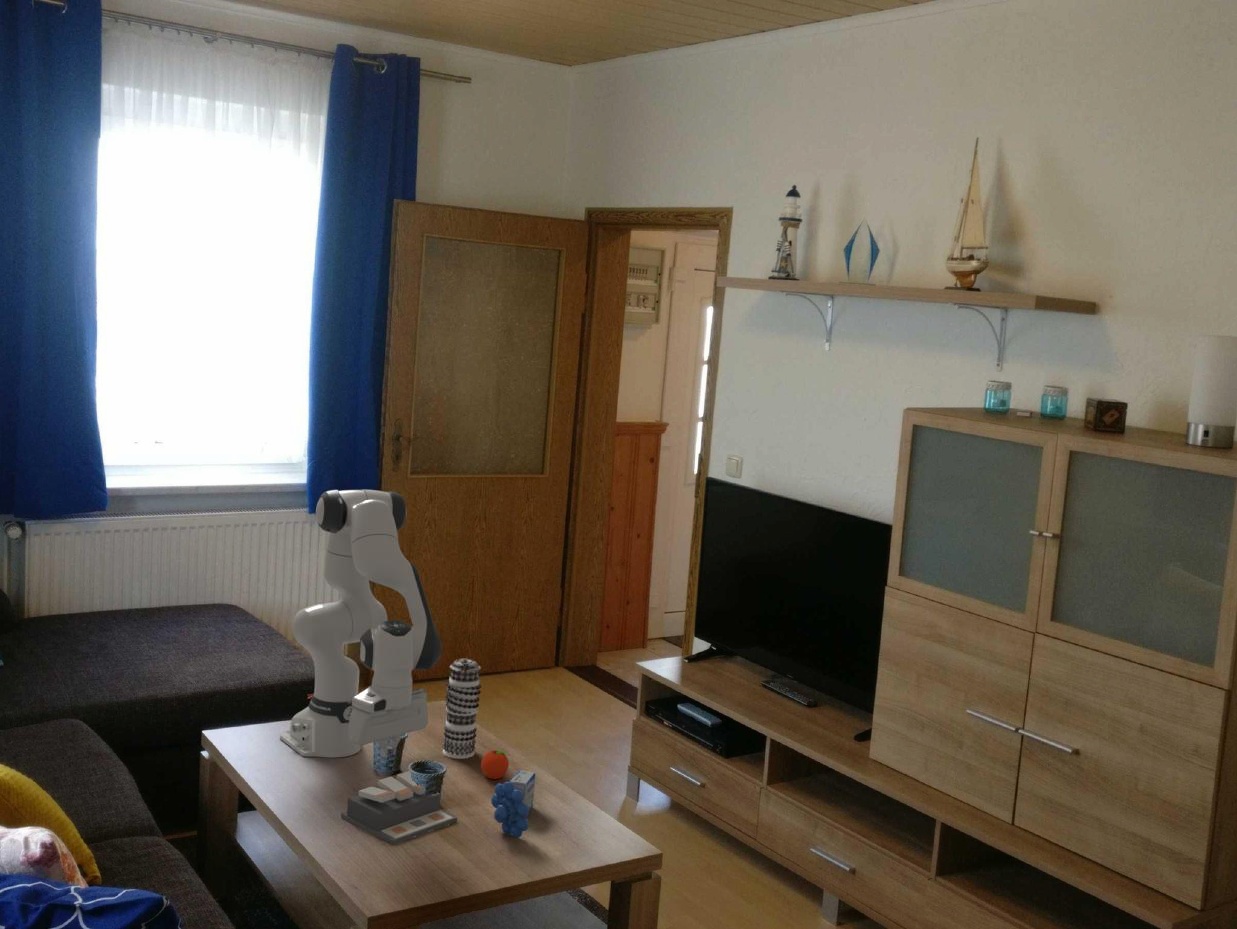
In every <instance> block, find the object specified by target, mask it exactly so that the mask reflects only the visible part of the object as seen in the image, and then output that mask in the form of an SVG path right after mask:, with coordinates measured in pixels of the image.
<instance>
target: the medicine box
mask: <svg viewBox="0 0 1237 929" xmlns="http://www.w3.org/2000/svg"><path fill="white" fill-rule="evenodd" d="M509 782H511V783H512V784H513V786H514V789H518V790H520V791H521V792H522V793H523V801H522V802H521V803H524V804H526V805H527V806H528V808H529V812H530V811H531V810H532V808H533V806H534V798H535V797H534V796H535V787H536V786H535V784H536V772H534V771H529V770H521V769H520V770H518V771H517V772H516V773H515V774H514V775H513V777H512V778H511V779H510V780H509Z"/></svg>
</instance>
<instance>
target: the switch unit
mask: <svg viewBox="0 0 1237 929" xmlns="http://www.w3.org/2000/svg"><path fill="white" fill-rule="evenodd" d="M400 783H401V782H400ZM403 785H404V784H403ZM406 787H407V786H406ZM407 788H408V787H407ZM379 789H382V790H384V789H383V788H381V787H379ZM409 789H410V788H409ZM413 792H414V791H413ZM436 792H437V793H436V794H432V795H421V794H419V795H418V794H417V793H415V792H414V793H413V797H410V798H407V799H404V800H401V801H400V800H398V799H397V798H394V799H391V800H388V801H385V802H382V803H381V802H378V801H375V800H371V799H368V798H364V797H361V796H359V794H357V795H353V796H351V797H348V798H347V811H344V812H342V813H340V818H341V819H343V820H344V821H346V822H348V823H349V824H352V825H353V826H356V827H358V828H360V829H361V830H363V831H365V830H366V831H365V832H367V833H369V834H371V835H373V836H375V837H376V838H379V839H381V840H382V839H383V840H382V841H384V842H387V843H388V842H389V843H388V844H390V845H392V846H394V845H397V844H400V843H402V842H401V841H403V842H405V841H407V839H408V840H411V839H413V838H412V837H414V836H416V837H419V836H421V835H420V834H422V833H425V834H427V833H429V832H428V831H430V830H433V829H436V828H438V829H440V828H439V827H441V828H443V827H442V826H444V827H446V826H445V825H447V826H449V825H452V824H454V823H457V822H458V817H457V816H455V815H453V814H451V813H449V812H447V811H445V810H442V809H440V808H441V796H442V793H440V792H438V791H436ZM451 823H452V824H451ZM448 824H449V825H448ZM436 830H437V829H436ZM433 831H434V830H433ZM426 832H427V833H426ZM430 832H431V831H430ZM418 835H419V836H418ZM422 835H423V834H422ZM410 838H411V839H410ZM414 838H415V837H414ZM399 842H400V843H399Z"/></svg>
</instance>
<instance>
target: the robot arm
mask: <svg viewBox="0 0 1237 929" xmlns="http://www.w3.org/2000/svg"><path fill="white" fill-rule="evenodd" d="M407 514H408V509H407V504H406V500H405V498H404V497H403V496H402V494H400V493H398V492H394V491H390V490H389V491H384V490H383V491H382V490H376V489H375V490H374V489H364V488H363V489H346V490H345V489H343V490H339V489H331V490H327V491H324V492H323V493H322V494H321V495H319V498H318V501H317V504H316V508H315V515H316V521H317V524H318V526H319V527H320V528H321V530H322V531H324V532H327V533H328V536H327V544H326V550H325V551H326V552H325V558H324V559H325V561H324V570H323V576H324V579H325V581H326V583H327V584H328V585H329V586H330V587H332V588H333V589H335V590H337V591H338V593H339V599H338V601H334V602H326V603H317V604H313V605H310V606H307V607H304V608H302V609H300V610H298V611H297V612H296V614H295V616H294V618H293V621H292V633H293V637H294V639H295V641H296V642H297V643H298V644H299V645H301V646H302V647H303V648H305V650H307V652H308V653H309V655H310V657H311V659H312V662H313V666H314V693H309V694H307V699H308V700H309V699H310V701H309V704H308V706H307V707H305V708H304V709H303V710H301V711H299V712H297V713H296V714H294V716H293V717H292V718H291V721H290V728H289V729H288V730H286V731H284V732H282V733H281V734H280V735H279V739H280V740H281V741H283V743H286V744H287V745H288V746H289V747H290V748H291V749H292V750H294V751H295V752H297V753H298V755H300V756H302V757H319V758H321V757H322V758H331V759H333V758H343V757H349V756H353V755H354V754H357V753H359V752H360V751H361V748H362V747H361V746H365V745H368V744H373V743H377V744H378V747H379V748H380V750H379V751H380V752H379V755H380V756H381V757H382V758H387V757H391V756H394V755H396V751H397V750H396V749H397V746H398V745H399V743H400V741H401V736H402V735H404V734H408V733H412V732H416V731H420V730H423V729H425V728H426V727H427V725H428V723H429V708H428V701H427V699H428V693H427V692H426V690H425V689H423V688H421V687H420V688H419V687H418V688H416V689H413V676H412V670H414V671H416V670H417V671H429V670H430V669H432V668H433V667H434V666H435V665H436V664H437V663H438V662H439V661H440V660H441V658H442V653H443V652H442V648H443V646H442V641H441V637H440V635H439V632H438V629H437V627H436V624H435V622H434V620H433V616H432V612H431V609H430V607H429V603H428V600H427V597H426V593H425V590H424V586H423V584H422V580H421V577H420V574H419V572H418V570H417V567H416V566H415V564H414V563H412V562H411V561H409V560H407V558H406V557H405V556H404V554H403V552H402V550H401V547H400V544H399V536H398V532H400V530H401V529H403V528H404V526H405V523H406V520H407ZM370 582H372V583H375V584H379V585H382V586H385V587H388V588H391V589H392V590H394V591H396V592H398V593H399V594H400V595H401V596H402V597H403V598H404V599H405V602H406V606H407V610H408V613H409V617H410V619H411V620H410V621H411V623H412V626H411V625H410V623H408V622H406V621H403V620H397V619H390V620H389V619H388V614H387V611H386V608H385V606H384V604H382V603H381V602H380V601H378V599H377V598H376V597H375V596H374V594H373V592H372V590H371V586H370ZM353 643H354V644H355V643H359V649H358V650H359V651H358V660H359V662H360V663H361V664H362V665H363V666H364V667H365V668H367V669H368V670H369V671H373V676H372V679H371V685H369V686H368V687H367V688H365V689H364V690H362V691H360V692H359V682H360V668H359V665H358V664H357V663H356V661H355V660H353V659H352V658H350V657H348V656H346V655H344V646H345V645H347V644H353ZM389 739H390V741H389ZM388 742H389V743H388ZM387 744H388V745H387Z"/></svg>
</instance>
